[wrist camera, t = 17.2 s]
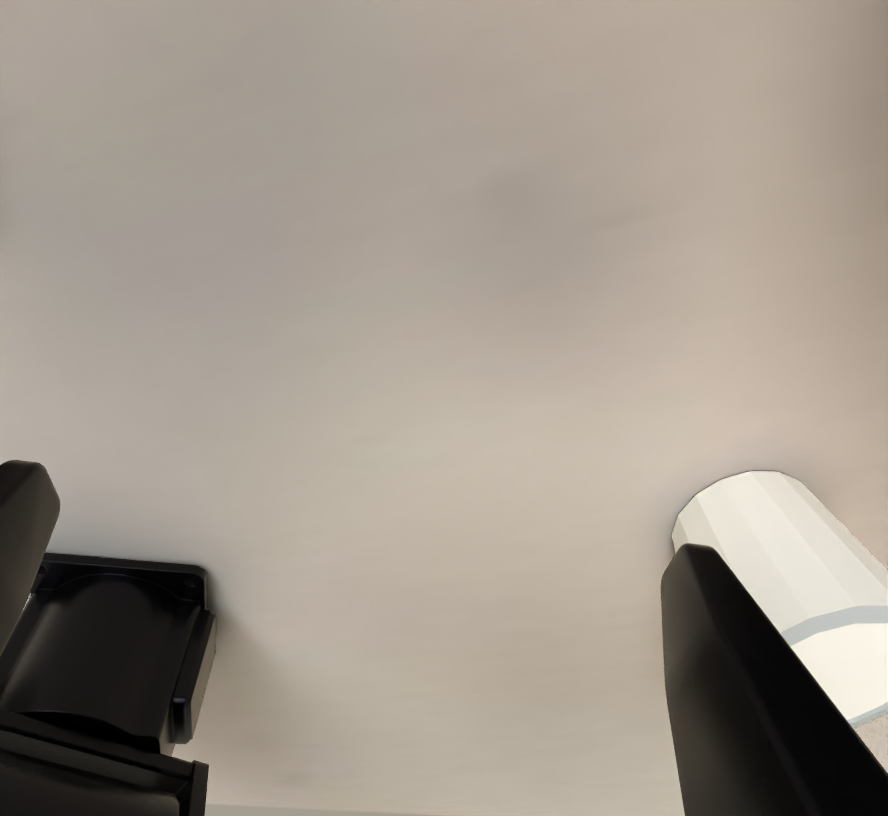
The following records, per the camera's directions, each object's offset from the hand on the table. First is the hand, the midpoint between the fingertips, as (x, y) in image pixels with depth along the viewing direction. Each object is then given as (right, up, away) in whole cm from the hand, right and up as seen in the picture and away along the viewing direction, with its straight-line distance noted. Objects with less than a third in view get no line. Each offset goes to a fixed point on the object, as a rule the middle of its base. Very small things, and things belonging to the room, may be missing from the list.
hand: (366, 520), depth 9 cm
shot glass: (+13, -3, +17) cm, 22 cm away
